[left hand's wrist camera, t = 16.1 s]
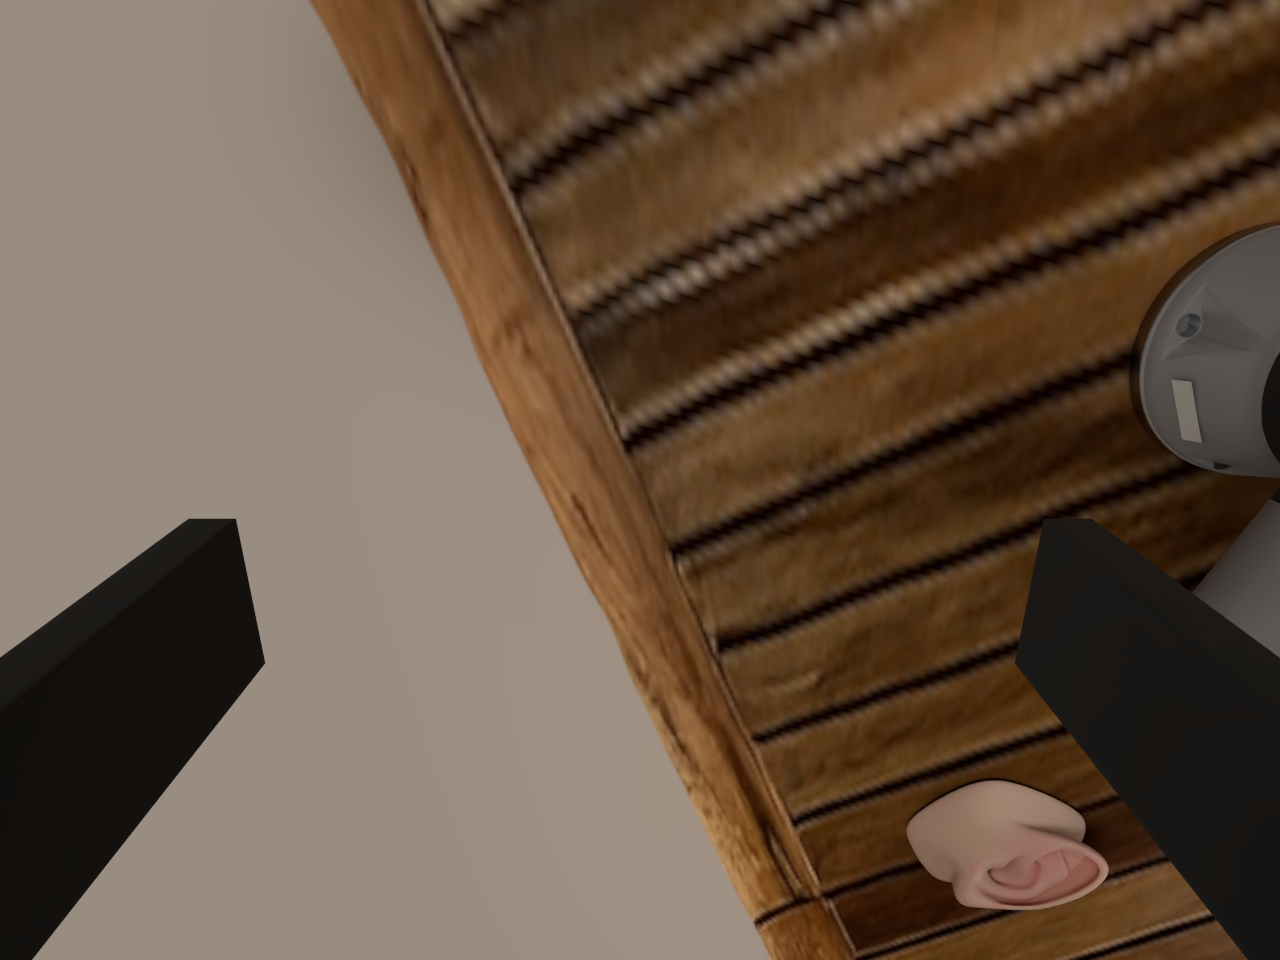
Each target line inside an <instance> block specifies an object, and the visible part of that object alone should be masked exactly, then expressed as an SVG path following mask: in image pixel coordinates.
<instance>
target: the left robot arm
mask: <svg viewBox="0 0 1280 960" xmlns="http://www.w3.org/2000/svg"><path fill="white" fill-rule="evenodd" d="M1130 388H1131V396H1132V400H1133V404H1134V407H1135V410H1136V413H1137V415H1138V417H1139V419H1140V421H1141V423H1142V425H1143V426H1144V428H1145V429H1146V431H1147V432H1148V434H1149V435H1150V436H1151V437H1152V438H1153V439H1154V440H1155V441H1156V442H1157V443H1158V444H1159V445H1160V446H1162V447H1163V448H1164V449H1166V450H1167V451H1169V452H1170V453H1172V454H1174V455H1176V456H1178V457H1180V458H1182V459H1184V460H1186V461H1188V462H1190V463H1192V464H1194V465H1196V466H1199V467H1202V468H1205V469H1209V470H1212V471H1216V472H1220V473H1224V474H1231V475H1241V476H1257V477H1270V478H1280V222H1274V223H1267V224H1263V225H1259V226H1255V227H1252V228H1249V229H1246V230H1243V231H1240V232H1238V233H1235V234H1233V235H1231V236H1229V237H1227V238H1225V239H1223V240H1221V241H1219V242H1217V243H1215V244H1214V245H1212V246H1211V247H1209V248H1208V249H1206V250H1204V251H1203V252H1202V253H1200V254H1199V255H1198V256H1196V257H1195V258H1194V259H1192V260H1191V261H1190V262H1189V263H1188V264H1187V265H1185V266H1184V267H1183V268H1182V269H1181V270H1180V271H1179V272H1178V273H1177V274H1176V275H1175V276H1174V277H1173V278H1172V279H1171V280H1170V282H1169V283H1168V284H1167V285H1166V286H1165V288H1164V289H1163V290H1162V291H1161V293H1160V294H1159V295H1158V297H1157V298H1156V300H1155V301H1154V303H1153V304H1152V306H1151V308H1150V309H1149V311H1148V313H1147V315H1146V317H1145V319H1144V321H1143V323H1142V325H1141V327H1140V330H1139V333H1138V335H1137V338H1136V341H1135V345H1134V348H1133V353H1132V358H1131V366H1130ZM264 664H265V660H264V655H263V650H262V645H261V641H260V635H259V631H258V626H257V621H256V616H255V611H254V606H253V601H252V596H251V591H250V586H249V581H248V576H247V571H246V567H245V562H244V557H243V552H242V547H241V542H240V537H239V532H238V527H237V522H236V519H188V520H186V521H185V522H184V523H182V524H181V525H180V526H178V527H177V528H176V529H174V530H173V531H171V532H170V533H169V534H167V535H166V536H165V537H163V538H162V539H161V540H159V541H158V542H156V543H155V544H154V545H152V546H151V547H150V548H148V549H147V550H146V551H144V552H143V553H142V554H140V555H139V556H137V557H136V558H135V559H133V560H132V561H131V562H129V563H128V564H127V565H125V566H124V567H123V568H121V569H120V570H119V571H117V572H116V573H114V574H113V575H112V576H110V577H109V578H108V579H106V580H105V581H104V582H102V583H101V584H100V585H98V586H97V587H95V588H94V589H93V590H91V591H90V592H89V593H87V594H86V595H85V596H83V597H82V598H80V599H79V600H78V601H76V602H75V603H74V604H72V605H71V606H70V607H68V608H67V609H66V610H64V611H63V612H61V613H60V614H59V615H57V616H56V617H55V618H53V619H52V620H51V621H49V622H48V623H47V624H45V625H44V626H42V627H41V628H40V629H38V630H37V631H36V632H34V633H33V634H32V635H30V636H29V637H28V638H26V639H25V640H23V641H22V642H21V643H19V644H18V645H17V646H15V647H14V648H13V649H11V650H10V651H8V652H7V653H6V654H4V655H3V656H2V657H0V960H32V959H33V958H34V956H35V955H36V954H37V953H38V951H39V950H40V949H41V948H42V946H43V945H44V944H45V943H46V941H47V940H48V939H49V937H50V936H51V935H52V934H53V932H54V931H55V930H56V929H57V927H58V926H59V925H60V923H61V922H62V921H63V920H64V918H65V917H66V916H67V915H68V913H69V912H70V911H71V910H72V908H73V907H74V906H75V904H76V903H77V902H78V901H79V899H80V898H81V897H82V895H83V894H84V893H85V892H86V890H87V889H88V888H89V887H90V885H91V884H92V883H93V882H94V880H95V879H96V878H97V876H98V875H99V874H100V873H101V871H102V870H103V869H104V868H105V866H106V865H107V864H108V862H109V861H110V860H111V859H112V857H113V856H114V855H115V854H116V852H117V851H118V850H119V848H120V847H121V846H122V845H123V843H124V842H125V841H126V839H127V838H128V837H129V836H130V834H131V833H132V832H133V831H134V829H135V828H136V827H137V826H138V824H139V823H140V822H141V820H142V819H143V818H144V817H145V815H146V814H147V813H148V812H149V810H150V809H151V808H152V806H153V805H154V804H155V803H156V801H157V800H158V799H159V798H160V796H161V795H162V794H163V792H164V791H165V790H166V789H167V787H168V786H169V785H170V784H171V782H172V781H173V780H174V778H175V777H176V776H177V775H178V773H179V772H180V771H181V770H182V768H183V767H184V766H185V764H186V763H187V762H188V761H189V759H190V758H191V757H192V756H193V754H194V753H195V752H196V751H197V749H198V748H199V747H200V745H201V744H202V743H203V742H204V740H205V739H206V738H207V736H208V735H209V734H210V733H211V731H212V730H213V729H214V728H215V726H216V725H217V724H218V722H219V721H220V720H221V719H222V717H223V716H224V715H225V714H226V712H227V711H228V710H229V708H230V707H231V706H232V705H233V703H234V702H235V701H236V700H237V698H238V697H239V696H240V695H241V693H242V692H243V691H244V689H245V688H246V687H247V686H248V684H249V683H250V682H251V681H252V679H253V678H254V677H255V675H256V674H257V673H258V672H259V670H260V669H261V668H262V667H263V665H264ZM1015 664H1016V665H1017V667H1018V668H1019V669H1020V670H1021V672H1022V673H1023V674H1024V675H1025V677H1026V678H1027V679H1028V681H1029V682H1030V683H1031V684H1032V686H1033V687H1034V688H1035V689H1036V691H1037V692H1038V693H1039V695H1040V696H1041V697H1042V698H1043V700H1044V701H1045V702H1046V703H1047V705H1048V706H1049V707H1050V709H1051V710H1052V711H1053V712H1054V714H1055V715H1056V716H1057V717H1058V719H1059V720H1060V721H1061V723H1062V724H1063V725H1064V726H1065V728H1066V729H1067V730H1068V731H1069V733H1070V734H1071V735H1072V737H1073V738H1074V739H1075V740H1076V742H1077V743H1078V744H1079V745H1080V747H1081V748H1082V749H1083V751H1084V752H1085V753H1086V754H1087V756H1088V757H1089V758H1090V759H1091V761H1092V762H1093V763H1094V765H1095V766H1096V767H1097V768H1098V770H1099V771H1100V772H1101V773H1102V775H1103V776H1104V777H1105V778H1106V780H1107V781H1108V782H1109V784H1110V785H1111V786H1112V787H1113V789H1114V790H1115V791H1116V792H1117V794H1118V795H1119V796H1120V798H1121V799H1122V800H1123V801H1124V803H1125V804H1126V805H1127V806H1128V808H1129V809H1130V810H1131V812H1132V813H1133V814H1134V815H1135V817H1136V818H1137V819H1138V820H1139V822H1140V823H1141V824H1142V826H1143V827H1144V828H1145V829H1146V831H1147V832H1148V833H1149V834H1150V836H1151V837H1152V838H1153V840H1154V841H1155V842H1156V843H1157V845H1158V846H1159V847H1160V848H1161V850H1162V851H1163V852H1164V854H1165V855H1166V856H1167V857H1168V859H1169V860H1170V861H1171V862H1172V864H1173V865H1174V866H1175V868H1176V869H1177V870H1178V871H1179V873H1180V874H1181V875H1182V876H1183V878H1184V879H1185V880H1186V882H1187V883H1188V884H1189V885H1190V887H1191V888H1192V889H1193V890H1194V892H1195V893H1196V894H1197V896H1198V897H1199V898H1200V899H1201V901H1202V902H1203V903H1204V904H1205V906H1206V907H1207V908H1208V910H1209V911H1210V912H1211V913H1212V915H1213V916H1214V917H1215V918H1216V920H1217V921H1218V922H1219V923H1220V925H1221V926H1222V927H1223V929H1224V930H1225V931H1226V932H1227V934H1228V935H1229V936H1230V937H1231V939H1232V940H1233V941H1234V943H1235V944H1236V945H1237V946H1238V948H1239V949H1240V950H1241V951H1242V953H1243V954H1244V955H1245V957H1246V958H1247V959H1248V960H1280V488H1279V489H1278V490H1277V491H1276V493H1275V494H1274V495H1273V496H1272V497H1271V498H1270V499H1269V500H1268V501H1267V502H1266V504H1265V505H1264V506H1263V507H1262V508H1261V510H1260V511H1259V512H1258V513H1257V514H1256V516H1255V517H1254V518H1253V519H1252V521H1251V522H1250V523H1249V524H1248V525H1247V527H1246V528H1245V529H1244V530H1243V531H1242V533H1241V534H1240V535H1239V536H1238V538H1237V539H1236V540H1235V541H1234V542H1233V544H1232V545H1231V546H1230V547H1229V548H1228V550H1227V551H1226V552H1225V553H1224V554H1223V556H1222V557H1221V558H1220V559H1219V561H1218V562H1217V563H1216V564H1215V565H1214V567H1213V568H1212V569H1211V570H1210V571H1209V573H1208V574H1207V575H1206V576H1205V577H1204V579H1203V580H1202V581H1201V582H1200V584H1199V585H1198V586H1197V587H1196V588H1195V590H1194V591H1193V592H1192V593H1191V592H1190V591H1189V590H1187V589H1186V588H1185V587H1183V586H1182V585H1181V584H1179V583H1178V582H1176V581H1175V580H1174V579H1172V578H1171V577H1170V576H1168V575H1167V574H1166V573H1164V572H1163V571H1162V570H1160V569H1159V568H1157V567H1156V566H1155V565H1153V564H1152V563H1151V562H1149V561H1148V560H1147V559H1145V558H1144V557H1143V556H1141V555H1140V554H1138V553H1137V552H1136V551H1134V550H1133V549H1132V548H1130V547H1129V546H1128V545H1126V544H1125V543H1124V542H1122V541H1121V540H1119V539H1118V538H1117V537H1115V536H1114V535H1113V534H1111V533H1110V532H1109V531H1107V530H1106V529H1104V528H1103V527H1102V526H1100V525H1099V524H1098V523H1096V522H1095V521H1094V520H1092V519H1044V522H1043V527H1042V532H1041V537H1040V542H1039V547H1038V552H1037V557H1036V562H1035V567H1034V571H1033V576H1032V581H1031V586H1030V591H1029V596H1028V601H1027V606H1026V611H1025V616H1024V621H1023V626H1022V631H1021V635H1020V640H1019V645H1018V650H1017V655H1016V660H1015Z"/></svg>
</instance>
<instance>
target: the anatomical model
mask: <svg viewBox="0 0 1280 960" xmlns="http://www.w3.org/2000/svg"><path fill="white" fill-rule="evenodd" d="M1085 830H1086V825H1085V821H1084V819H1083V817H1082V816H1081V815H1080V814H1079V813H1078V812H1077V811H1075V810H1074V809H1072V808H1071V807H1069V806H1068V805H1066V804H1064V803H1063V802H1061V801H1059V800H1057V799H1055V798H1053V797H1050V796H1048V795H1046V794H1043V793H1041V792H1039V791H1036V790H1034V789H1031V788H1028V787H1025V786H1022V785H1019V784H1015V783H1011V782H1006V781H998V780H991V781H982V782H977V783H974V784H970V785H967V786H965V787H962V788H959V789H957V790H955V791H953V792H951V793H949V794H947V795H945V796H943V797H941V798H940V799H938V800H936V801H935V802H933V803H931V804H930V805H928V806H927V807H925V808H924V809H923V810H921V811H920V812H919V813H917V814H916V815H915V816H914V817H913V818H912V819H911V820H910V822H909V824H908V826H907V836H908V839H909V842H910V844H911V846H912V848H913V850H914V852H915V853H916V855H917V857H918V859H919V860H920V862H921V863H922V864H923V866H924V867H925V868H926V869H927V870H928V871H929V872H930V873H931V874H932V875H933V876H934V877H936V878H938V879H940V880H943V881H947V882H952V884H953V890H954V894H955V897H956V898H957V900H958V901H959V902H960V903H961V904H963V905H965V906H969V907H978V908H994V909H1010V910H1034V909H1043V908H1049V907H1052V906H1056V905H1060V904H1063V903H1066V902H1069V901H1072V900H1075V899H1077V898H1079V897H1081V896H1083V895H1085V894H1087V893H1089V892H1090V891H1092V890H1093V889H1095V888H1096V887H1097V886H1098V885H1100V884H1101V883H1102V882H1103V881H1104V879H1105V878H1106V876H1107V874H1108V865H1107V863H1106V861H1105V859H1104V858H1103V857H1102V856H1101V855H1100V854H1099V853H1098V852H1097V851H1095V850H1094V849H1092V848H1091V847H1089V846H1087V845H1086V844H1084V843H1082V839H1083V837H1084V834H1085Z"/></svg>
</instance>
